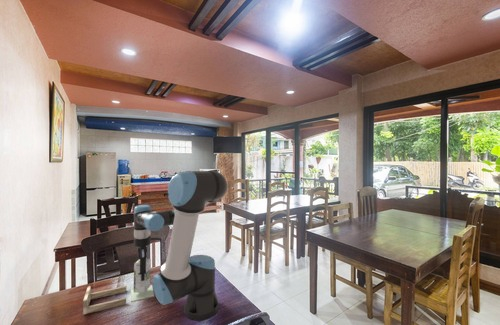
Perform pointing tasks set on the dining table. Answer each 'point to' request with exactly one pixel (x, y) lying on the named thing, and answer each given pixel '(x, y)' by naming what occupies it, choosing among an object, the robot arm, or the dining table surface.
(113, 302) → the wooden channel
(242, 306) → the dining table surface
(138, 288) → the syrup box
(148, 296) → the sage mat
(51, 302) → the dining table surface
